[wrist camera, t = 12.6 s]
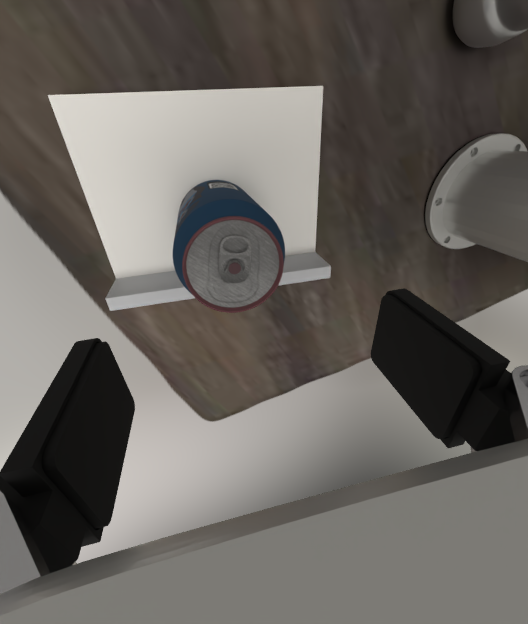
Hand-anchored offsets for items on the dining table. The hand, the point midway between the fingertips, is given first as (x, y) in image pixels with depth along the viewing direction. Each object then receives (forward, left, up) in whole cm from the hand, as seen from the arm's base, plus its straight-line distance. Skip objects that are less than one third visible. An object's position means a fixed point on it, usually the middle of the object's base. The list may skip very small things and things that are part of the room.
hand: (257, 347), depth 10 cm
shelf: (0, -2, -22) cm, 22 cm away
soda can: (0, 0, -19) cm, 19 cm away
